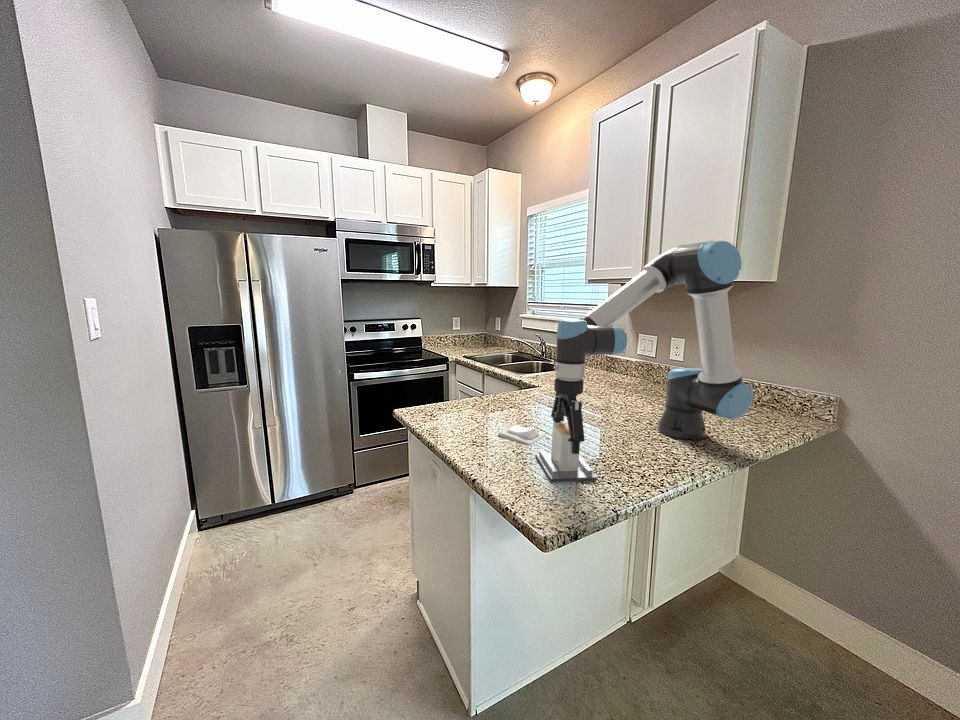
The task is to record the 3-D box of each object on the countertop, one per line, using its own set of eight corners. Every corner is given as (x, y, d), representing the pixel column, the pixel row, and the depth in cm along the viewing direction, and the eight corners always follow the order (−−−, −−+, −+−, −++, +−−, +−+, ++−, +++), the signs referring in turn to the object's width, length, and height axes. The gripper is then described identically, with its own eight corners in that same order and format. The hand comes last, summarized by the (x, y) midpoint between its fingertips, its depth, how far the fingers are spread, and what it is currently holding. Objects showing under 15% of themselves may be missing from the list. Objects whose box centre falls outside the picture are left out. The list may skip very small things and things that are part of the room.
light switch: (531, 437, 122) (498, 425, 130) (530, 449, 123) (497, 437, 130) (548, 428, 130) (516, 417, 138) (546, 439, 131) (515, 428, 139)
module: (568, 458, 111) (570, 422, 109) (577, 470, 103) (580, 432, 101) (551, 458, 110) (553, 422, 108) (559, 471, 102) (561, 432, 101)
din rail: (574, 455, 115) (575, 447, 115) (596, 480, 100) (596, 471, 99) (535, 456, 114) (535, 448, 114) (551, 482, 98) (551, 473, 98)
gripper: (542, 368, 114) (539, 437, 118) (571, 389, 90) (566, 474, 93) (567, 368, 115) (563, 436, 119) (602, 389, 91) (595, 473, 94)
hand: (564, 453), depth 106 cm, fingers open, 13 cm apart
